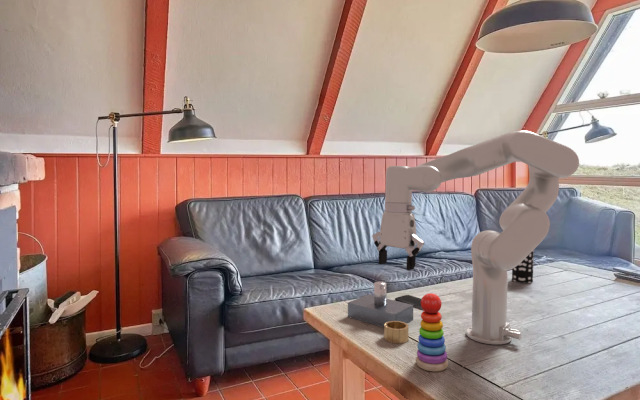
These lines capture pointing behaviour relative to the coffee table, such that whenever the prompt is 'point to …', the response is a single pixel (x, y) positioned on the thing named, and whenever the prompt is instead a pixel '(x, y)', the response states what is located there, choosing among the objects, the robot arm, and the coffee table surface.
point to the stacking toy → (431, 336)
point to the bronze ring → (396, 332)
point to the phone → (410, 300)
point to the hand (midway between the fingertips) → (396, 266)
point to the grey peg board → (379, 308)
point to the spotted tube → (524, 270)
